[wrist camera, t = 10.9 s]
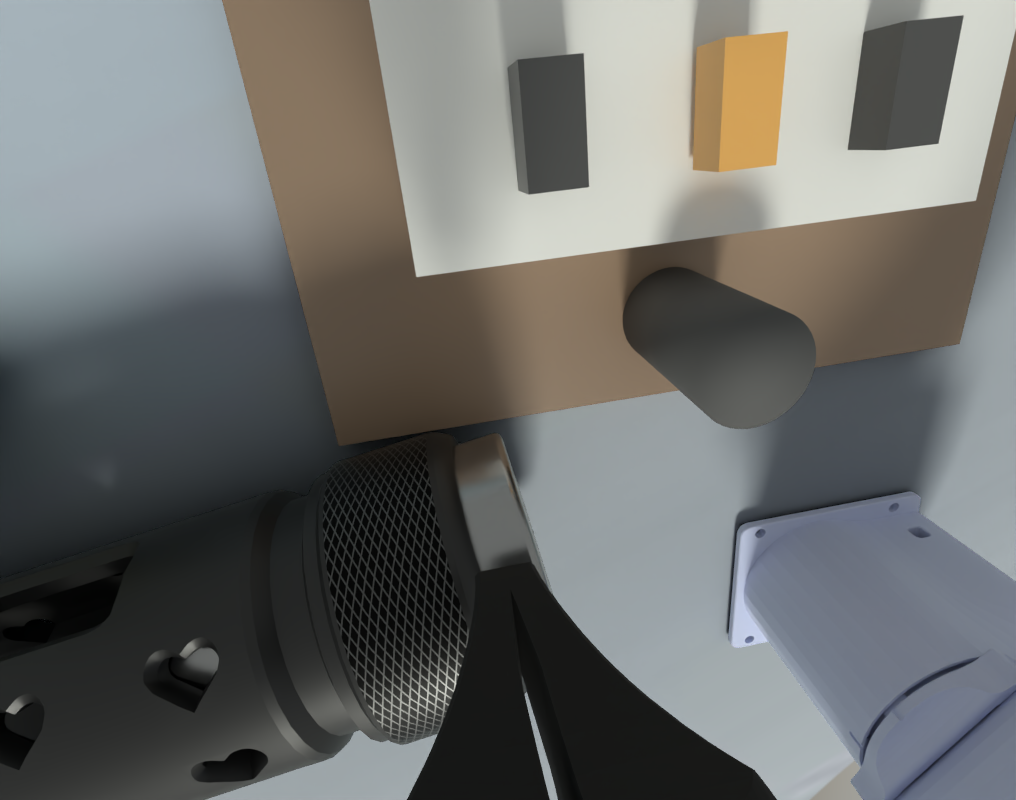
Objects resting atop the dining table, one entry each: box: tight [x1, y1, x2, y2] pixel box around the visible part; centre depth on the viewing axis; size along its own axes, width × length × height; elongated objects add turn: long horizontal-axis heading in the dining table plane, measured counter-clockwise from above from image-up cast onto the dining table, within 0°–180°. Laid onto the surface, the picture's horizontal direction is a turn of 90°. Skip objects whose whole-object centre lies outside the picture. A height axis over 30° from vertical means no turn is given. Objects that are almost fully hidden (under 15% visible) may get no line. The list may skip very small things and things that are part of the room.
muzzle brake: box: [0, 432, 553, 800], centre depth 20 cm, size 10×28×10 cm
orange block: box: [693, 31, 788, 172], centre depth 15 cm, size 2×3×2 cm, turn 6°
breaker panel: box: [222, 0, 1016, 446], centre depth 17 cm, size 26×20×6 cm
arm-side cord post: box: [623, 267, 816, 429], centre depth 19 cm, size 4×4×6 cm
